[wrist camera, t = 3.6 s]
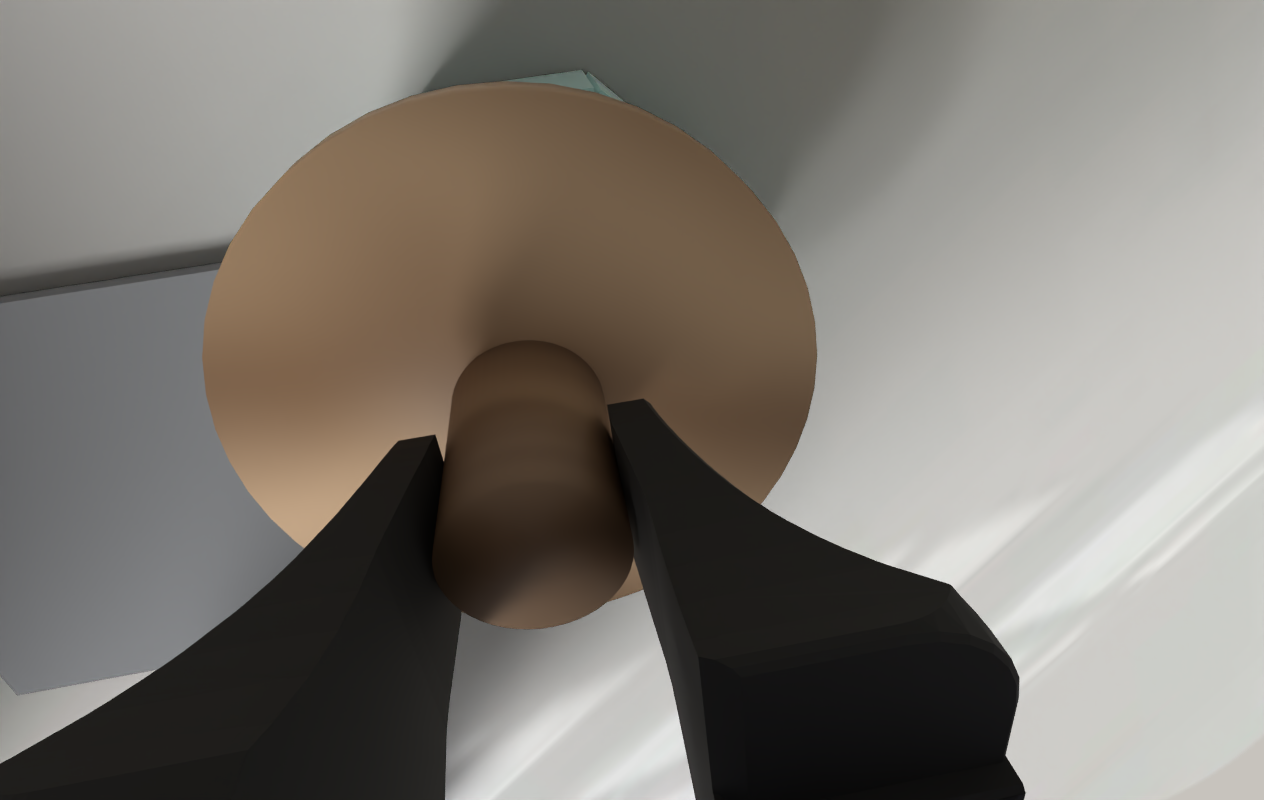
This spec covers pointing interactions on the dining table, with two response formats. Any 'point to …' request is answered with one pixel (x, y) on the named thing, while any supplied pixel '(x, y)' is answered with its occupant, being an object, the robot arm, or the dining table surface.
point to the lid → (506, 331)
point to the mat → (117, 484)
